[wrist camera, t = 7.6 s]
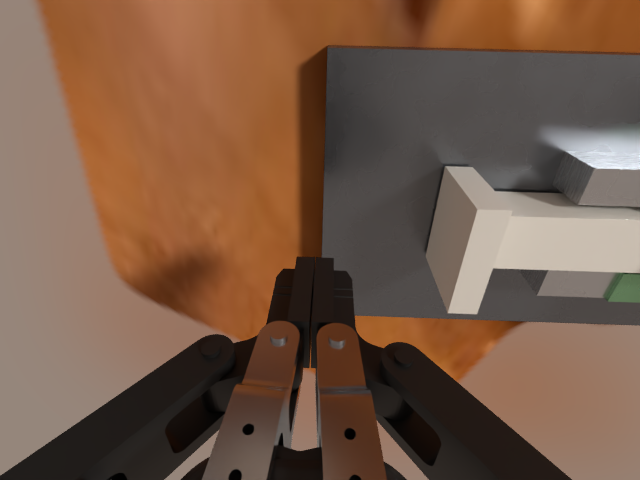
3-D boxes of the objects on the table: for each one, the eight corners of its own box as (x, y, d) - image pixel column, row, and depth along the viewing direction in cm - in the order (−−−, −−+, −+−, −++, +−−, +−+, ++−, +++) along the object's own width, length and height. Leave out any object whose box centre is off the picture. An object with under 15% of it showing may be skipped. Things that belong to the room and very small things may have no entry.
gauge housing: (327, 45, 17) (324, 66, 10) (841, 57, 17) (1232, 89, 9) (320, 299, 25) (316, 410, 18) (660, 310, 25) (791, 429, 18)
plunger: (444, 166, 18) (477, 209, 14) (710, 174, 18) (821, 220, 14) (425, 256, 21) (447, 313, 17) (653, 263, 21) (730, 322, 17)
